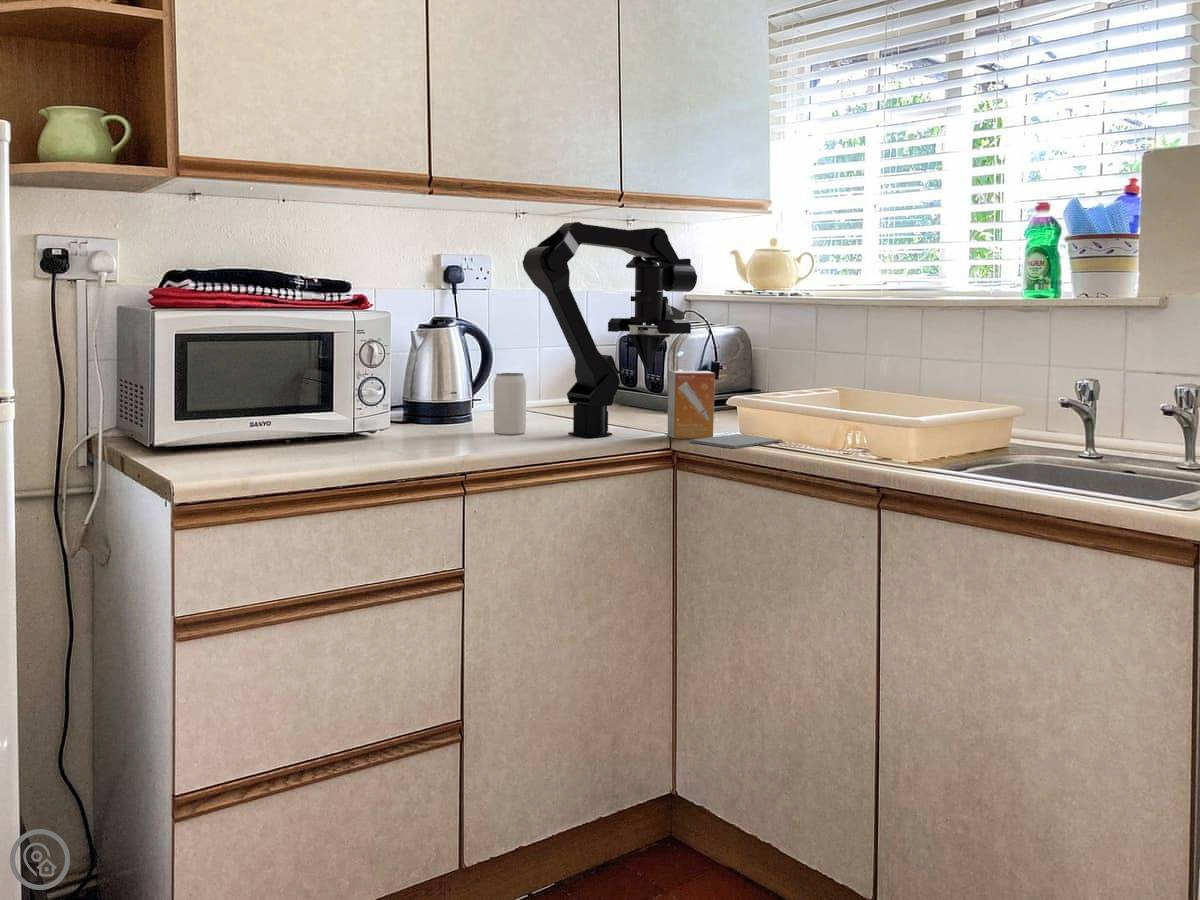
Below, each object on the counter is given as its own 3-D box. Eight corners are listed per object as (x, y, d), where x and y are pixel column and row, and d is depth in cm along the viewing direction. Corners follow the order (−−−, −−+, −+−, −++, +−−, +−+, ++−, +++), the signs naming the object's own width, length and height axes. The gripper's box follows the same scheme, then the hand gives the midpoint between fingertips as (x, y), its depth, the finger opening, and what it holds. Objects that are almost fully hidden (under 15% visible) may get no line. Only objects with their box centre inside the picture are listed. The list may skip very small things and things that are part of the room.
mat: (734, 448, 195) (734, 445, 195) (690, 442, 203) (690, 439, 203) (782, 442, 204) (782, 439, 204) (737, 436, 212) (737, 434, 212)
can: (532, 433, 215) (532, 373, 213) (508, 436, 210) (508, 375, 208) (511, 430, 219) (510, 372, 217) (487, 433, 214) (486, 373, 213)
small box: (673, 439, 207) (674, 372, 206) (666, 435, 214) (668, 370, 212) (714, 439, 209) (715, 372, 207) (706, 435, 215) (707, 370, 213)
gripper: (710, 291, 214) (708, 369, 217) (644, 291, 228) (643, 365, 230) (672, 291, 207) (670, 371, 209) (606, 291, 221) (605, 366, 223)
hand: (647, 368), depth 218 cm, fingers closed
